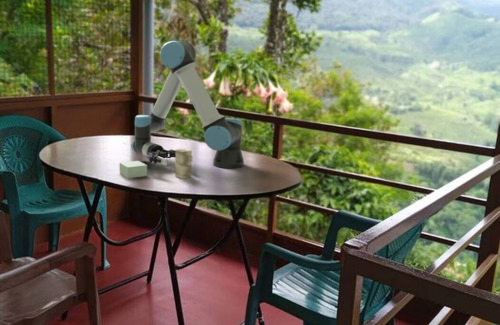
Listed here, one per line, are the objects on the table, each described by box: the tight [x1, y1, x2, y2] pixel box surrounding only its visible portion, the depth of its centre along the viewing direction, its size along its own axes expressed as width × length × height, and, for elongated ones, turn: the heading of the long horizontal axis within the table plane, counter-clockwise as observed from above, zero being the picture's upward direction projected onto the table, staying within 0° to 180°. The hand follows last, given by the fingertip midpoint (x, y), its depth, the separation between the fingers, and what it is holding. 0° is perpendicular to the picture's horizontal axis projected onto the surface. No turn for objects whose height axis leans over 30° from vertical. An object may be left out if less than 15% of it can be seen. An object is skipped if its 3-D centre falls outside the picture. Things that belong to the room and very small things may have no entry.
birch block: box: [174, 148, 193, 180], centre depth 225 cm, size 5×5×12 cm
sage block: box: [119, 160, 148, 179], centre depth 226 cm, size 9×9×5 cm
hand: (179, 160), depth 226 cm, fingers open, 13 cm apart
